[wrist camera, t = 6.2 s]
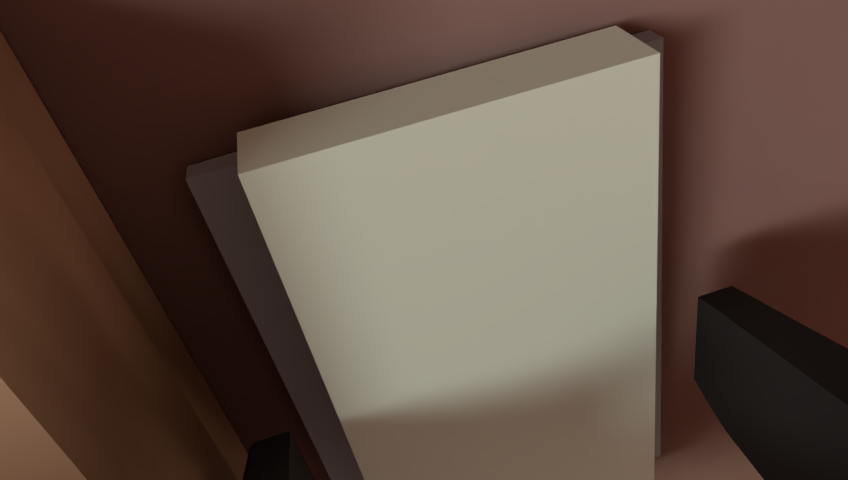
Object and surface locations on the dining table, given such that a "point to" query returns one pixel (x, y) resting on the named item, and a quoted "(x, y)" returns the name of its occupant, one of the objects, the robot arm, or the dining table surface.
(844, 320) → the dining table surface
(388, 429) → the lid
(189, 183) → the mat
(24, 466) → the pen box
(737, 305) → the robot arm
